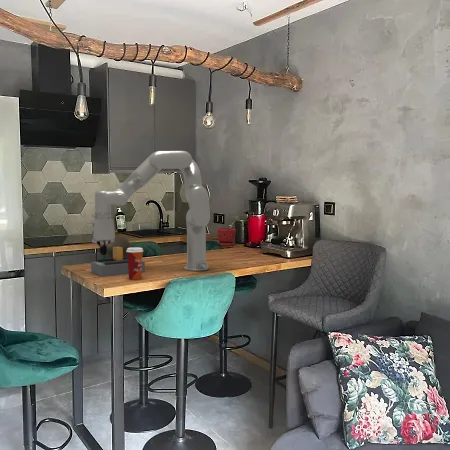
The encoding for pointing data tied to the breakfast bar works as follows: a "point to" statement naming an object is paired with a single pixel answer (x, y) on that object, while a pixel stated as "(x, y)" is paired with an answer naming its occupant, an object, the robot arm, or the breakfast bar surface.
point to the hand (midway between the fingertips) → (103, 254)
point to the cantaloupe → (121, 243)
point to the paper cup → (135, 262)
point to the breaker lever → (118, 253)
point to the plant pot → (228, 238)
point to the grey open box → (111, 267)
